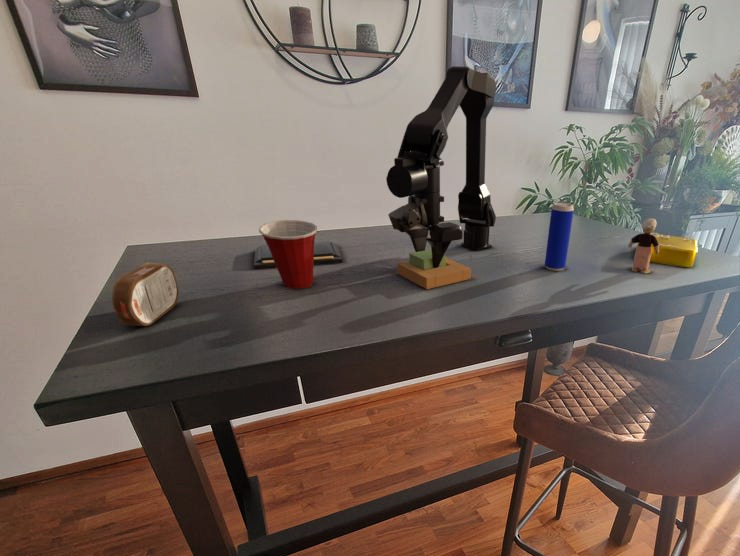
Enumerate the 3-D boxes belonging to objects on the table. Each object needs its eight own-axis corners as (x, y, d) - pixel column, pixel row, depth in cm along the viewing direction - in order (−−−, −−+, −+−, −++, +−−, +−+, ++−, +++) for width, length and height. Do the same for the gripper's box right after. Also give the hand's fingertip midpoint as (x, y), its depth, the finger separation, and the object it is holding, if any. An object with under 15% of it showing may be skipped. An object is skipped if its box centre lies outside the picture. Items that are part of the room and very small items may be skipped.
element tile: (633, 260, 119) (637, 242, 116) (638, 246, 131) (642, 230, 128) (692, 268, 115) (698, 250, 112) (692, 254, 126) (697, 237, 124)
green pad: (431, 262, 105) (430, 249, 104) (445, 269, 102) (445, 255, 100) (409, 266, 102) (409, 253, 100) (424, 274, 98) (423, 259, 97)
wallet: (336, 238, 117) (342, 255, 105) (337, 245, 118) (343, 263, 106) (254, 242, 111) (250, 260, 99) (256, 250, 112) (252, 268, 100)
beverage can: (564, 265, 112) (573, 203, 104) (565, 272, 108) (575, 207, 100) (544, 264, 113) (551, 201, 104) (544, 270, 108) (552, 205, 100)
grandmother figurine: (654, 271, 112) (668, 219, 105) (653, 275, 109) (666, 222, 102) (624, 266, 114) (635, 214, 107) (621, 270, 111) (633, 217, 104)
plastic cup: (274, 297, 87) (260, 235, 81) (268, 279, 95) (255, 221, 88) (330, 289, 91) (321, 230, 85) (320, 273, 99) (311, 218, 93)
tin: (169, 299, 84) (153, 255, 79) (187, 299, 84) (172, 255, 79) (122, 335, 71) (100, 285, 67) (143, 335, 71) (122, 285, 67)
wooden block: (440, 265, 108) (440, 254, 107) (470, 279, 101) (470, 268, 99) (397, 273, 102) (397, 263, 100) (426, 289, 94) (426, 278, 93)
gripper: (370, 186, 94) (376, 258, 103) (418, 202, 83) (420, 282, 91) (415, 183, 101) (417, 251, 109) (465, 197, 89) (463, 272, 97)
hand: (428, 263), depth 101 cm, fingers closed on green pad, 6 cm apart
